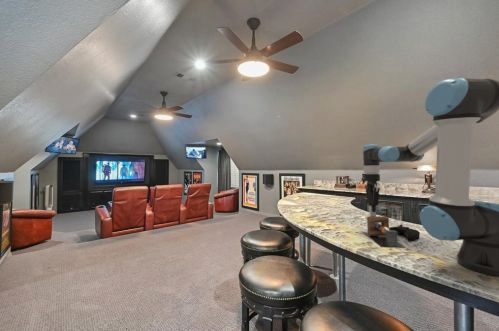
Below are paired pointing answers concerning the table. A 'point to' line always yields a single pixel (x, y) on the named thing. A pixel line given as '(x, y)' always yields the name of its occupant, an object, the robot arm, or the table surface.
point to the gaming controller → (407, 232)
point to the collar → (371, 225)
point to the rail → (385, 237)
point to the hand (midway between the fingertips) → (372, 217)
